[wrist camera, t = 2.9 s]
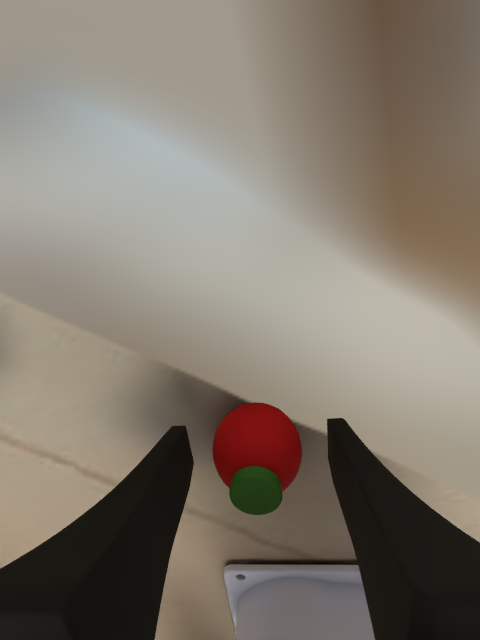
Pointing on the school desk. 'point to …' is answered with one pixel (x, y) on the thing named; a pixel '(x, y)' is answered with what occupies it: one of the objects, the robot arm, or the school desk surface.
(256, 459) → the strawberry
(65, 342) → the school desk surface
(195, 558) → the school desk surface
